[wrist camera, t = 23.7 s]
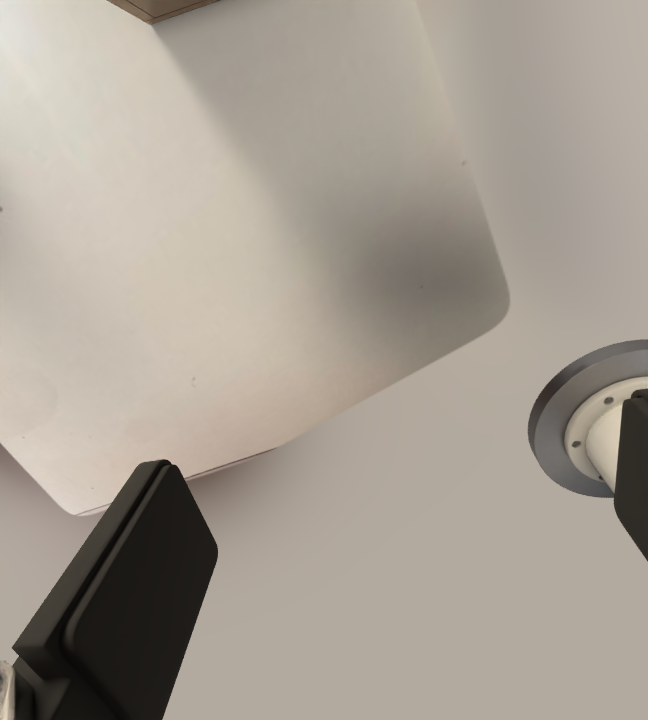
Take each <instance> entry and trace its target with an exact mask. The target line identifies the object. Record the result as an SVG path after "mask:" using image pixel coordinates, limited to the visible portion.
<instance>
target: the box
mask: <svg viewBox="0 0 648 720" xmlns="http://www.w3.org/2000/svg"><path fill="white" fill-rule="evenodd" d="M107 1H109V2H111V3H113V4H114V5H116V6H118V7H120V8H121V9H123V10H125V11H127V12H128V13H130V14H132V15H134V16H136V17H137V18H139V19H141V20H143V21H145V22H146V23H148V24H153V23H156V22H159V21H161V20H164V19H167V18H170V17H173V16H176V15H179V14H182V13H184V12H187V11H190V10H193V9H196V8H199V7H202V6H205V5H207V4H210V3H213V2H216V1H219V0H107Z"/></svg>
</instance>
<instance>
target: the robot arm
mask: <svg viewBox="0 0 648 720" xmlns="http://www.w3.org/2000/svg"><path fill="white" fill-rule="evenodd" d="M564 444H565V450H566V453H567V455H568V457H569V459H570V460H571V462H572V463H573V464H574V466H575V467H576V468H577V469H578V470H579V471H580V472H581V473H582V474H584V475H586V476H587V477H589V478H591V479H593V480H596V481H599V482H604V483H607V484H608V486H609V487H610V489H611V490H612V491H613V493H614V507H615V510H616V514H617V516H618V518H619V520H620V521H621V523H622V524H623V526H624V528H625V529H626V531H627V532H628V533H629V535H630V536H631V538H632V539H633V540H634V542H635V543H636V545H637V547H638V548H639V549H640V551H641V552H642V554H643V555H644V556H645V558H646V560H647V561H648V377H638V378H631V379H627V380H624V381H621V382H617V383H614V384H612V385H610V386H608V387H606V388H603V389H602V390H600V391H599V392H597V393H595V394H594V395H592V396H591V397H590V398H588V399H587V400H586V401H585V402H584V403H583V404H581V406H580V407H579V408H578V409H577V410H576V411H575V413H574V414H573V416H572V417H571V419H570V421H569V422H568V425H567V428H566V431H565V438H564ZM217 558H218V548H217V544H216V542H215V540H214V538H213V536H212V534H211V532H210V530H209V528H208V526H207V524H206V522H205V520H204V518H203V516H202V514H201V512H200V510H199V508H198V506H197V504H196V502H195V500H194V498H193V496H192V494H191V492H190V490H189V488H188V486H187V484H186V482H185V480H184V478H183V476H182V474H181V472H180V470H179V468H178V467H177V466H176V465H172V464H171V462H170V461H168V460H165V459H163V460H157V461H150V462H143V463H141V464H139V465H138V466H137V467H136V469H135V470H134V472H133V473H132V475H131V476H130V478H129V479H128V480H127V482H126V483H125V485H124V486H123V488H122V489H121V491H120V492H119V493H118V495H117V496H116V498H115V499H114V501H113V502H112V504H111V505H110V506H109V508H108V509H107V511H106V512H105V514H104V515H103V517H102V518H101V519H100V521H99V522H98V524H97V526H96V527H95V528H94V530H93V531H92V532H91V534H90V535H89V537H88V538H87V540H86V541H85V543H84V544H83V545H82V547H81V548H80V550H79V551H78V553H77V554H76V556H75V557H74V559H73V560H72V562H71V563H70V564H69V566H68V567H67V569H66V570H65V572H64V573H63V575H62V576H61V577H60V579H59V580H58V582H57V583H56V585H55V586H54V587H53V589H52V590H51V592H50V593H49V595H48V596H47V598H46V599H45V600H44V602H43V603H42V605H41V606H40V608H39V609H38V611H37V612H36V613H35V615H34V616H33V618H32V619H31V621H30V622H29V624H28V625H27V627H26V628H25V629H24V631H23V632H22V634H21V635H20V637H19V638H18V640H17V641H16V642H15V644H14V645H13V647H12V649H13V650H14V651H15V652H16V653H17V654H18V655H19V657H18V658H17V660H16V661H15V663H14V664H13V666H11V665H10V664H9V663H7V662H6V661H2V660H0V720H162V719H163V716H164V713H165V710H166V707H167V704H168V701H169V698H170V696H171V693H172V690H173V687H174V684H175V681H176V678H177V675H178V672H179V670H180V667H181V664H182V660H183V658H184V655H185V651H186V649H187V646H188V643H189V640H190V638H191V635H192V632H193V629H194V626H195V623H196V620H197V617H198V614H199V611H200V608H201V606H202V602H203V599H204V597H205V594H206V591H207V588H208V585H209V582H210V579H211V576H212V574H213V570H214V568H215V565H216V562H217Z"/></svg>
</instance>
